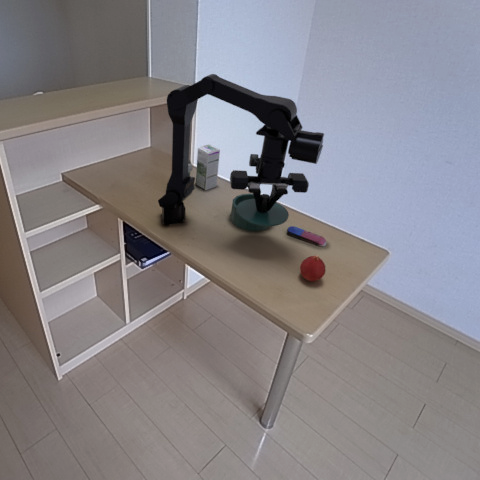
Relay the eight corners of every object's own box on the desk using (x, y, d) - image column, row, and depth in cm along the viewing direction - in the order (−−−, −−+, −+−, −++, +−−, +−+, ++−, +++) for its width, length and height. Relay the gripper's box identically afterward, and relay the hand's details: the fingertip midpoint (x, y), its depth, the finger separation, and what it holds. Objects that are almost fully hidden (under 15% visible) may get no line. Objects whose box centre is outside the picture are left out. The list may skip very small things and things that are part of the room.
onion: (293, 273, 95) (300, 248, 90) (315, 272, 95) (323, 247, 91) (302, 288, 90) (310, 263, 86) (325, 287, 91) (334, 262, 86)
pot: (238, 234, 110) (241, 216, 106) (224, 212, 120) (227, 195, 116) (278, 230, 111) (282, 212, 108) (261, 209, 122) (264, 192, 118)
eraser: (327, 243, 106) (329, 238, 105) (322, 249, 103) (324, 244, 102) (289, 229, 112) (291, 224, 110) (284, 235, 109) (285, 230, 108)
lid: (246, 230, 93) (250, 211, 89) (229, 204, 104) (231, 186, 100) (297, 225, 95) (302, 206, 91) (274, 200, 106) (278, 182, 102)
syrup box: (217, 186, 135) (221, 148, 127) (204, 191, 132) (207, 152, 124) (207, 181, 139) (210, 143, 130) (194, 184, 136) (197, 147, 128)
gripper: (305, 144, 95) (292, 197, 104) (232, 141, 97) (225, 194, 106) (316, 161, 86) (300, 218, 95) (235, 157, 87) (227, 214, 96)
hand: (262, 210), depth 98 cm, fingers closed on lid, 2 cm apart
